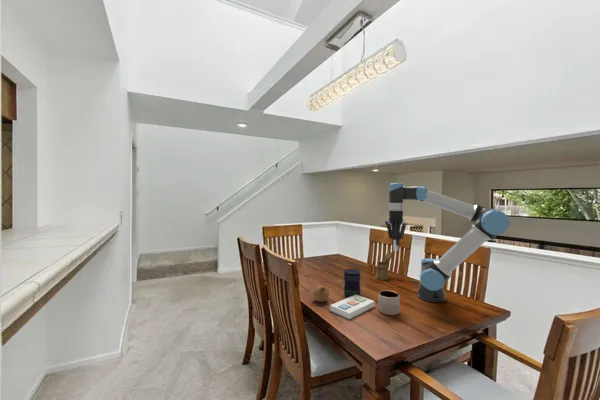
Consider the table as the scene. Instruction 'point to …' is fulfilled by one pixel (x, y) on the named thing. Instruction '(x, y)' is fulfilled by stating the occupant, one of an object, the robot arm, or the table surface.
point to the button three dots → (352, 303)
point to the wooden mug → (383, 268)
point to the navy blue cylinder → (351, 282)
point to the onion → (321, 293)
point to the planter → (389, 302)
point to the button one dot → (344, 306)
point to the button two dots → (360, 299)
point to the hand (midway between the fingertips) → (395, 250)
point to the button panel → (352, 307)
